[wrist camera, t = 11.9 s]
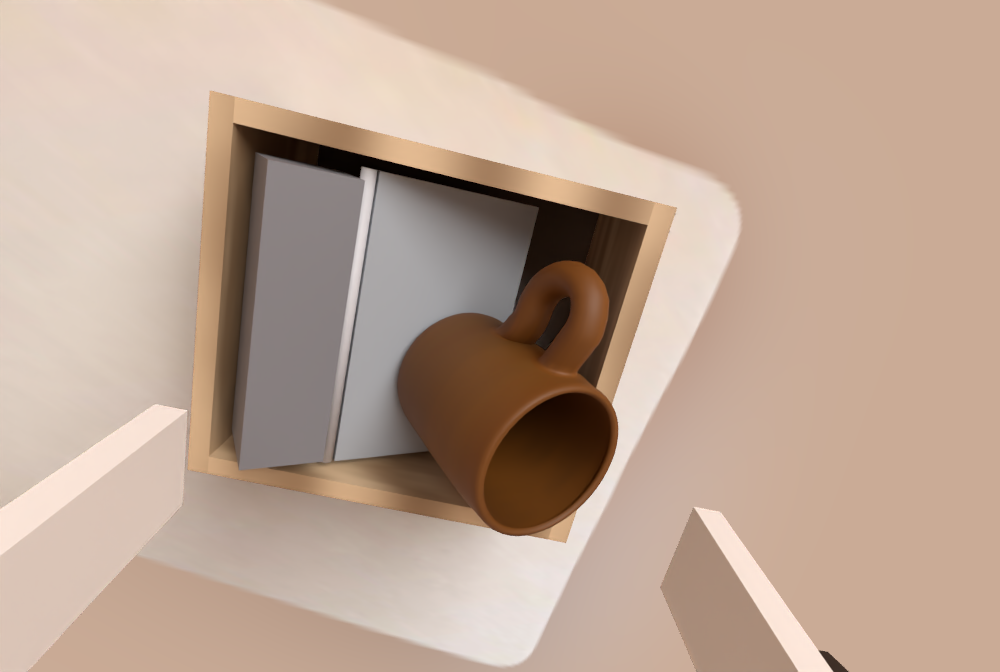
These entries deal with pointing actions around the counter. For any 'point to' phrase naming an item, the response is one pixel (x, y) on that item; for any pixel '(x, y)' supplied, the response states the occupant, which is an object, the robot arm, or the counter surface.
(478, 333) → the mug
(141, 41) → the counter surface
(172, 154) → the counter surface
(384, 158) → the trapdoor frame
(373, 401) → the trapdoor
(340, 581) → the counter surface
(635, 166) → the counter surface
